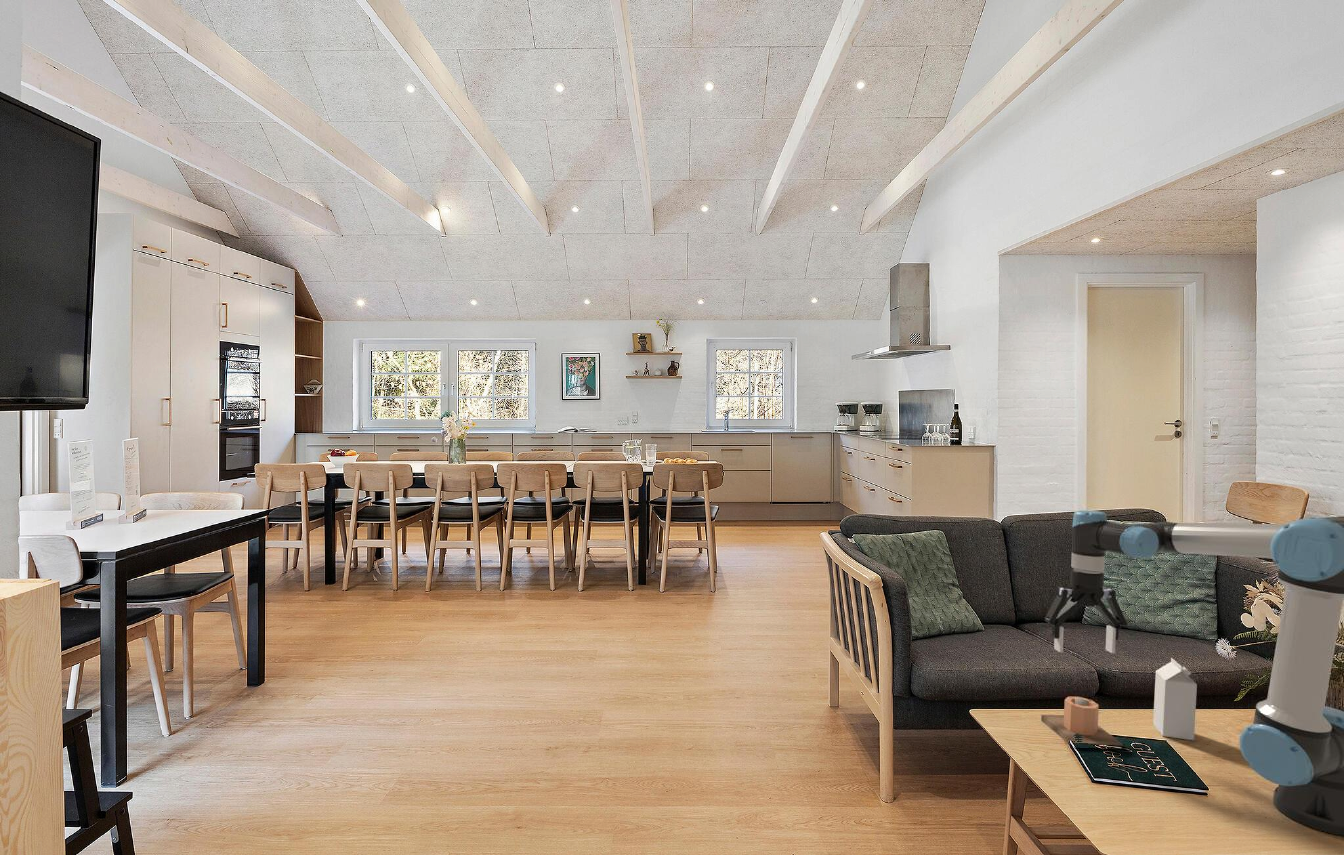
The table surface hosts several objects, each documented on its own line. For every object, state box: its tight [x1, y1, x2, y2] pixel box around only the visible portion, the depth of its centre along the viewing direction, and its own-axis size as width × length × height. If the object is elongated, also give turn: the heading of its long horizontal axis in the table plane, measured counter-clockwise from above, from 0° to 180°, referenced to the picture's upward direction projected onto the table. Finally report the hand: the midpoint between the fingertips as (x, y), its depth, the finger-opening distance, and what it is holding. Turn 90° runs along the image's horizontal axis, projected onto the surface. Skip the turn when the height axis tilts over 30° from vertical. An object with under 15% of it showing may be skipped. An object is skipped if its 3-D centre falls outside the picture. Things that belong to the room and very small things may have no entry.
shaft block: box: [1040, 697, 1124, 747], centre depth 186 cm, size 16×12×9 cm
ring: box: [1063, 696, 1100, 735], centre depth 186 cm, size 7×7×7 cm
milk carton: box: [1152, 657, 1198, 741], centre depth 188 cm, size 7×7×19 cm
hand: (1084, 651), depth 185 cm, fingers open, 13 cm apart
